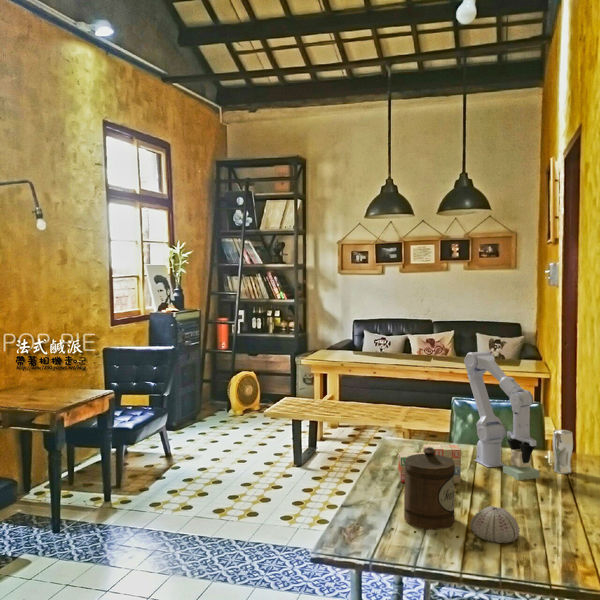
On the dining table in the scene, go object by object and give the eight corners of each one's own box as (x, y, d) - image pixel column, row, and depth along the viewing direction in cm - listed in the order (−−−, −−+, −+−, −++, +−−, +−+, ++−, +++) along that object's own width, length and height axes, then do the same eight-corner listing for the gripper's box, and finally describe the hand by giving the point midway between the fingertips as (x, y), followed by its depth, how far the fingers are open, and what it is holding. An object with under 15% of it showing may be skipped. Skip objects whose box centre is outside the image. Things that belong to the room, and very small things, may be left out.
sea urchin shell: (486, 523, 182) (487, 496, 182) (529, 537, 172) (529, 509, 172) (461, 535, 174) (461, 507, 173) (504, 551, 163) (504, 521, 163)
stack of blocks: (400, 483, 218) (400, 448, 218) (398, 477, 225) (398, 444, 224) (460, 483, 217) (461, 449, 217) (457, 477, 224) (457, 444, 223)
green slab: (503, 473, 229) (503, 465, 229) (523, 471, 231) (523, 463, 231) (518, 481, 220) (518, 473, 220) (539, 478, 223) (539, 470, 223)
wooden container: (455, 531, 176) (455, 456, 175) (403, 527, 179) (403, 453, 178) (453, 512, 191) (453, 442, 190) (405, 509, 194) (405, 440, 193)
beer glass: (575, 474, 226) (576, 434, 226) (556, 474, 226) (557, 434, 226) (567, 468, 233) (568, 429, 233) (549, 468, 233) (549, 429, 233)
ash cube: (510, 463, 227) (510, 449, 227) (522, 462, 229) (522, 448, 229) (519, 467, 222) (519, 453, 222) (531, 465, 224) (531, 452, 224)
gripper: (500, 420, 231) (499, 456, 231) (524, 429, 217) (524, 467, 218) (516, 419, 233) (515, 454, 233) (541, 427, 219) (541, 465, 220)
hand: (521, 460), depth 226 cm, fingers closed on ash cube, 5 cm apart
